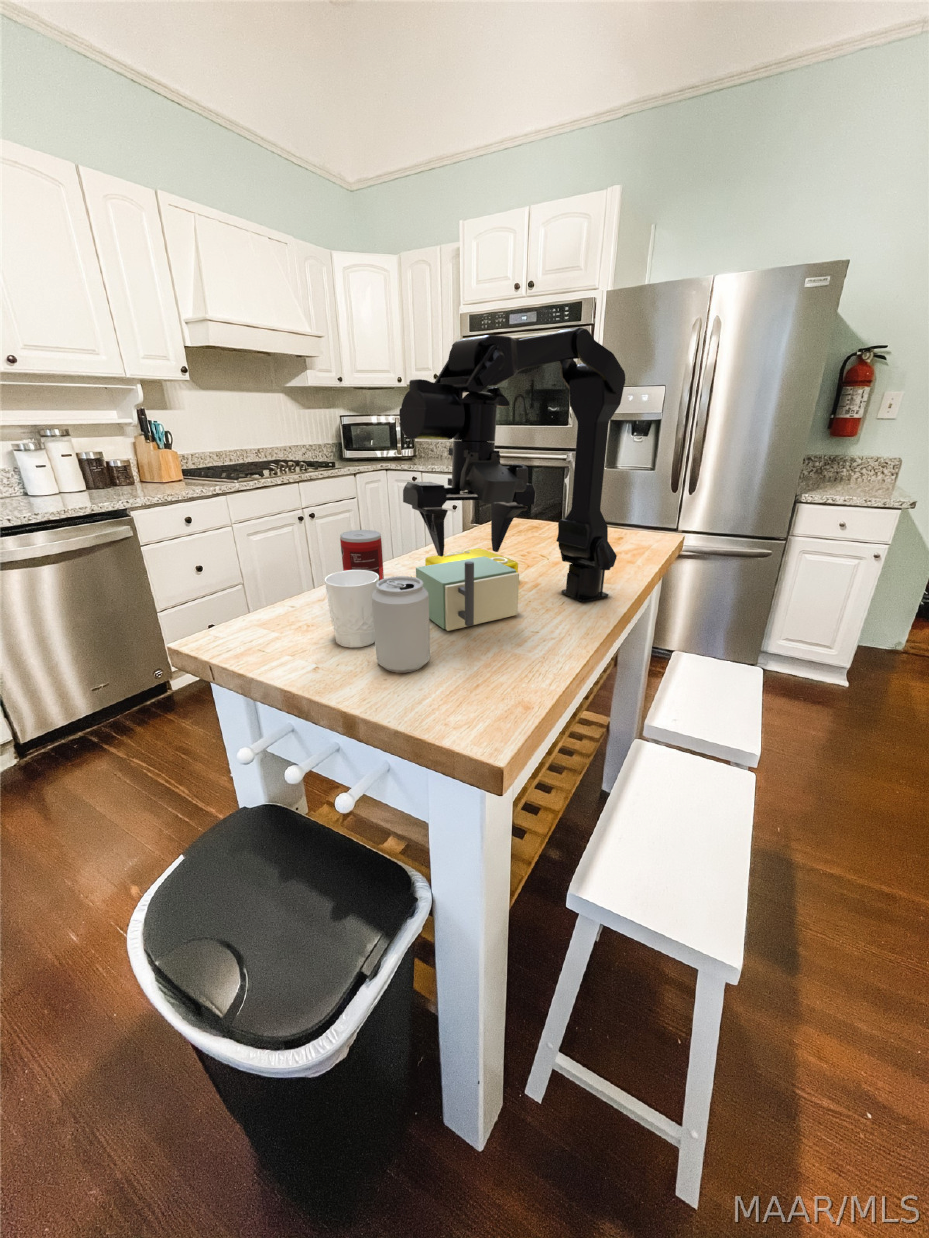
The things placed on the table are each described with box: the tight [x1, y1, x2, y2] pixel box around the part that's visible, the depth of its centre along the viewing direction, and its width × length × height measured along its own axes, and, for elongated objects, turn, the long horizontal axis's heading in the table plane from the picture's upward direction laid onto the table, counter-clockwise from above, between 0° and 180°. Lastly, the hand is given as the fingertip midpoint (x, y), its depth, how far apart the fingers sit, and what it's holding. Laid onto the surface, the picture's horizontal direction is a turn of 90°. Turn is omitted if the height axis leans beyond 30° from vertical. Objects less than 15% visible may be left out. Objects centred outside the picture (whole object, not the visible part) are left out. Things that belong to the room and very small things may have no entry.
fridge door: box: [445, 561, 520, 632], centre depth 79 cm, size 14×4×12 cm, turn 120°
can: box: [372, 575, 431, 674], centre depth 68 cm, size 8×8×12 cm
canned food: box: [339, 529, 385, 581], centre depth 97 cm, size 8×8×11 cm
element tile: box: [424, 547, 519, 573], centre depth 103 cm, size 15×15×5 cm
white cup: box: [324, 570, 379, 649], centre depth 76 cm, size 8×8×10 cm
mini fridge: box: [415, 556, 516, 630], centre depth 86 cm, size 14×10×8 cm
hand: (468, 553), depth 74 cm, fingers open, 9 cm apart
